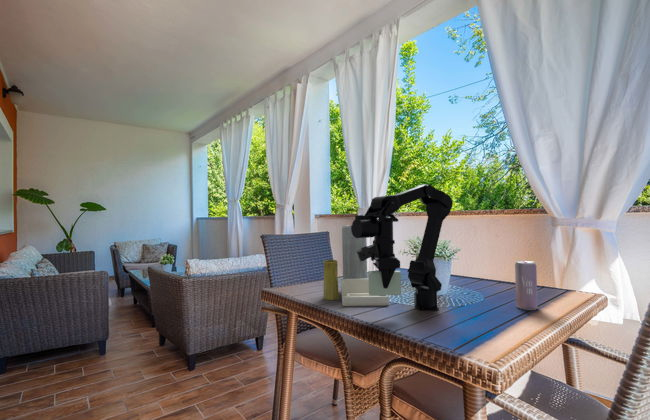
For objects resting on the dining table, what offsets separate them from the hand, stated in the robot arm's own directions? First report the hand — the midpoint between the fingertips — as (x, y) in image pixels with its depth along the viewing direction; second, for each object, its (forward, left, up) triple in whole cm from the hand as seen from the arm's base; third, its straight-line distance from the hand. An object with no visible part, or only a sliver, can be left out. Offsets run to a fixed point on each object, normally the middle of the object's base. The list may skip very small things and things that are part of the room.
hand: (384, 287), depth 100 cm
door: (0, 0, -2) cm, 2 cm away
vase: (+17, -23, -9) cm, 30 cm away
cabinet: (+5, -19, -9) cm, 21 cm away
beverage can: (-47, -7, -9) cm, 49 cm away
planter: (+7, -34, -9) cm, 36 cm away
